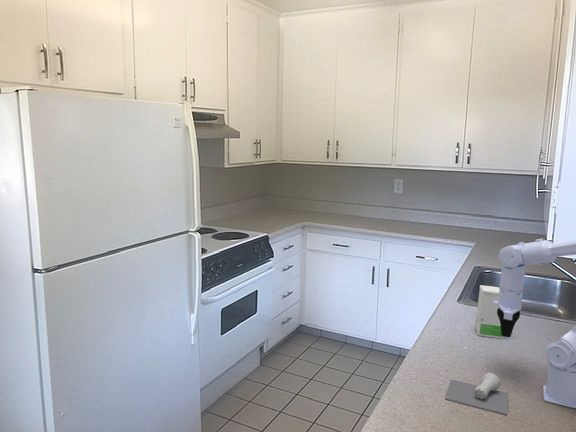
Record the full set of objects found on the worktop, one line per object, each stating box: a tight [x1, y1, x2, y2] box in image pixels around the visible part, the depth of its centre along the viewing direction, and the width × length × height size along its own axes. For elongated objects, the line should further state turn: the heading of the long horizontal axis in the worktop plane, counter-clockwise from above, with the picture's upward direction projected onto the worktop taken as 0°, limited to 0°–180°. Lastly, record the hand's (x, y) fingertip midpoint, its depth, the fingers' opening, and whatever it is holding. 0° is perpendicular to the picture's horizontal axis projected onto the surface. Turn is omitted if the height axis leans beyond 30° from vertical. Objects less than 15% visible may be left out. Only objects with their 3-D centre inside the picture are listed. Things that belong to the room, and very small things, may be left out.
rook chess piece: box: [474, 372, 501, 399], centre depth 118 cm, size 4×4×8 cm
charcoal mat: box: [444, 379, 509, 416], centre depth 118 cm, size 14×10×1 cm
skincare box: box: [474, 284, 504, 340], centre depth 155 cm, size 8×7×16 cm
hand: (505, 335), depth 130 cm, fingers closed
